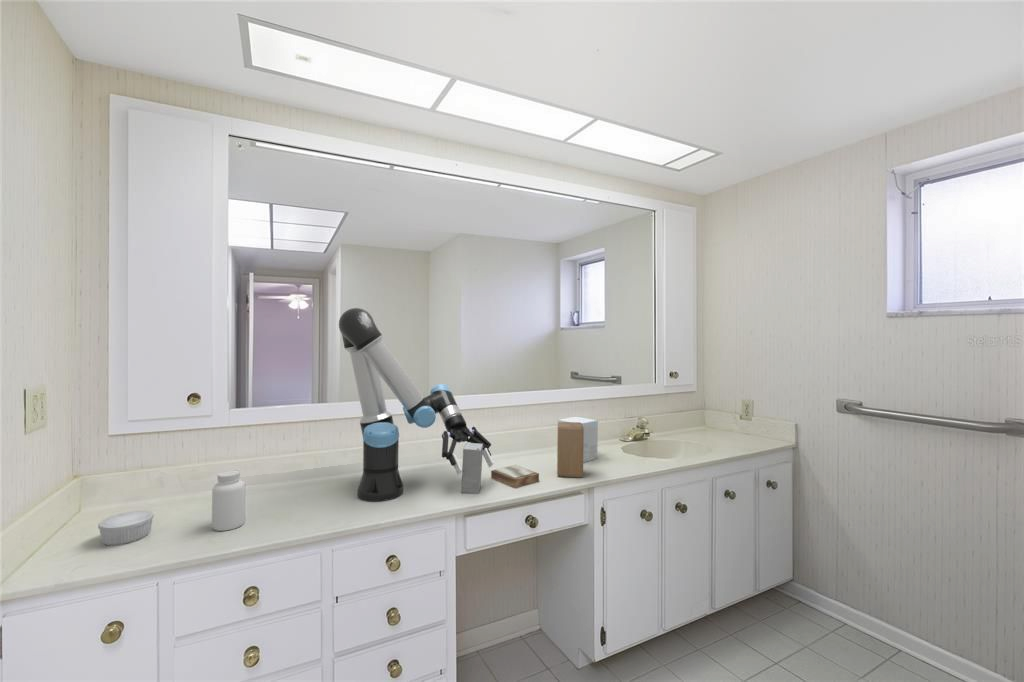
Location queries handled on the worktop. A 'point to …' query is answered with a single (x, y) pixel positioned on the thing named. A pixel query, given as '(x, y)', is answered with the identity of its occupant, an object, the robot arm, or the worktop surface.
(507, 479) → the wooden framed mirror
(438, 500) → the worktop surface
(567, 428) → the wooden block
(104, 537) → the ramekin
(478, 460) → the skincare box
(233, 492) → the pill bottle
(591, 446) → the supplement box
